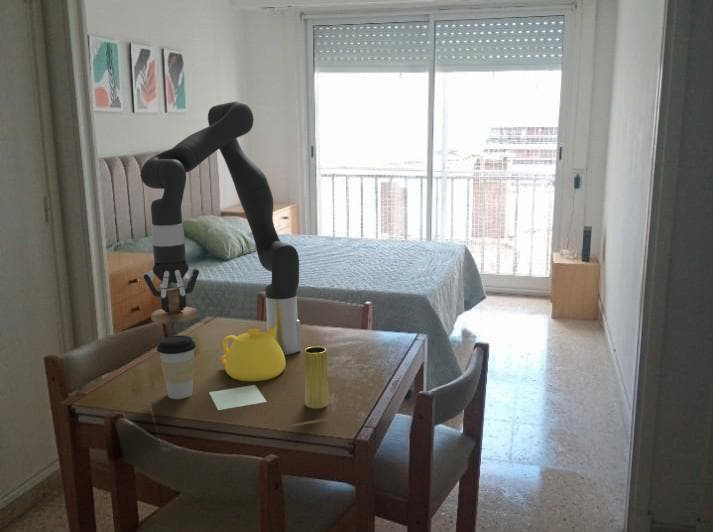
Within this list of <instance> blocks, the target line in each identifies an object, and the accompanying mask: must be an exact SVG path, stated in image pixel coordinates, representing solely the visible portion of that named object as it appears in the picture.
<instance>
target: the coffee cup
mask: <svg viewBox="0 0 713 532" xmlns="http://www.w3.org/2000/svg"><path fill="white" fill-rule="evenodd" d="M196 346H197V345H196V342H195V341H194V340H193V337H191V336H189V335H170V336H167V337H164V338H161V339H160V340H159V344H157V346H156V347H157V348H156V351H157V352H158V353H159V355H160V356H159V357H160V364H161V365H160V366H161V369H162V370H161V371H162V375H163V380H164V383H165V386H166V387H165V388H166V392H167V393H166V394H167V397H168V398H169V399H172V400H182V399H186V398H189V397H191V396H192V395H193V389H194V388H193V384H194V377H195V372H194V371H195V348H196Z"/></svg>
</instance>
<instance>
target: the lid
mask: <svg viewBox="0 0 713 532" xmlns="http://www.w3.org/2000/svg"><path fill="white" fill-rule="evenodd" d="M166 297H167V303H168V312H165V311H164V310H162V308H160V309H157V310H155V311H153V312H152V313H151V314H150V316H151V319H150V320H151V321H152V322H153V323H156V324H164V325H165V324H166V325H167V324H168V325H169V324H170V325H171V324H180V323H185V322H186V323H187V322H189V321H192V320H195V319H196V318H197V317H198V310H197V308H196V307H195V308H194V307H190V306H186V308H184V310H182V311H181V308H180V293H179V289H178V287H177V288H175V287H173V288H167V291H166Z"/></svg>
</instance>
